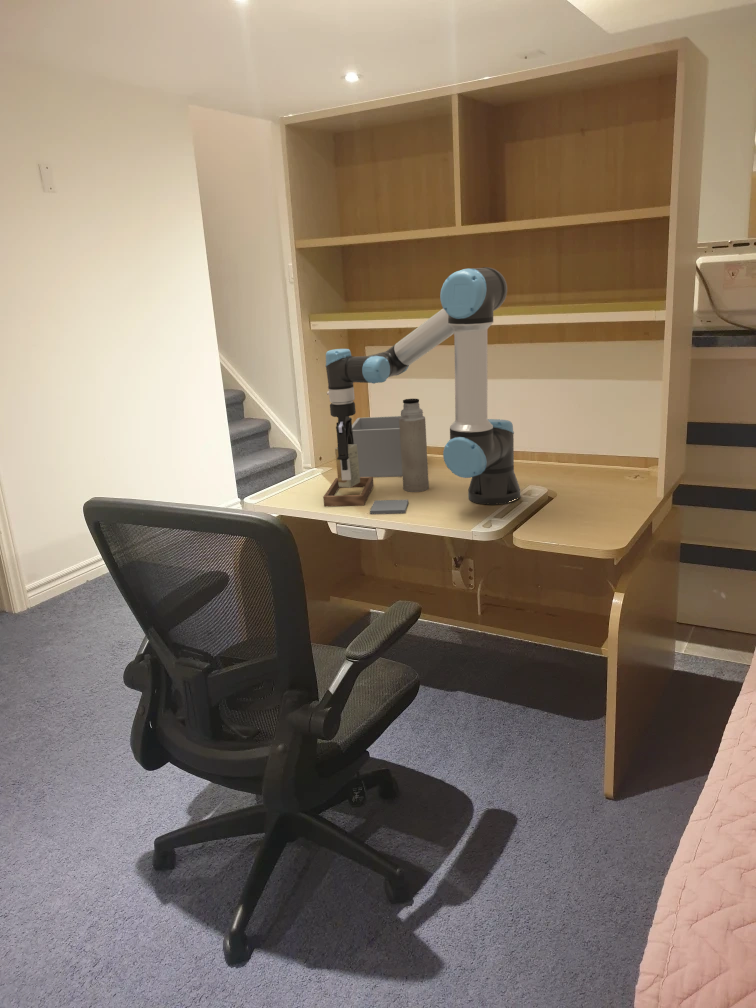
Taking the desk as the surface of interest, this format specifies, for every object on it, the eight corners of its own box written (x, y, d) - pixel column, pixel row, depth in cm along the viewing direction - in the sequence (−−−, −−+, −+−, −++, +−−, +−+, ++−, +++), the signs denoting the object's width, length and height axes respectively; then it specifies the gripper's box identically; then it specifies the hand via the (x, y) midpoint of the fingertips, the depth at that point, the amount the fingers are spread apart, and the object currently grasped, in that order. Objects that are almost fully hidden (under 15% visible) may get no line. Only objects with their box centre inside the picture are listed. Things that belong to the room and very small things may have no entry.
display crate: (421, 459, 277) (419, 415, 272) (416, 475, 256) (414, 428, 252) (361, 461, 280) (357, 417, 276) (351, 477, 260) (347, 430, 255)
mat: (408, 502, 228) (408, 499, 228) (405, 513, 219) (405, 509, 218) (374, 503, 229) (374, 500, 229) (370, 514, 220) (369, 510, 220)
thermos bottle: (415, 483, 247) (410, 396, 239) (434, 487, 242) (429, 398, 234) (398, 489, 242) (392, 400, 234) (416, 493, 237) (411, 402, 228)
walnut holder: (373, 485, 248) (372, 476, 247) (364, 505, 228) (363, 495, 228) (336, 486, 250) (336, 477, 249) (324, 506, 230) (323, 496, 229)
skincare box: (349, 482, 242) (345, 443, 238) (360, 482, 240) (357, 444, 236) (337, 487, 236) (334, 447, 233) (349, 488, 234) (346, 448, 231)
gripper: (335, 397, 241) (342, 468, 247) (323, 408, 222) (330, 485, 228) (359, 395, 240) (365, 467, 246) (349, 407, 221) (355, 485, 227)
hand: (348, 476), depth 237 cm, fingers closed on skincare box, 7 cm apart
